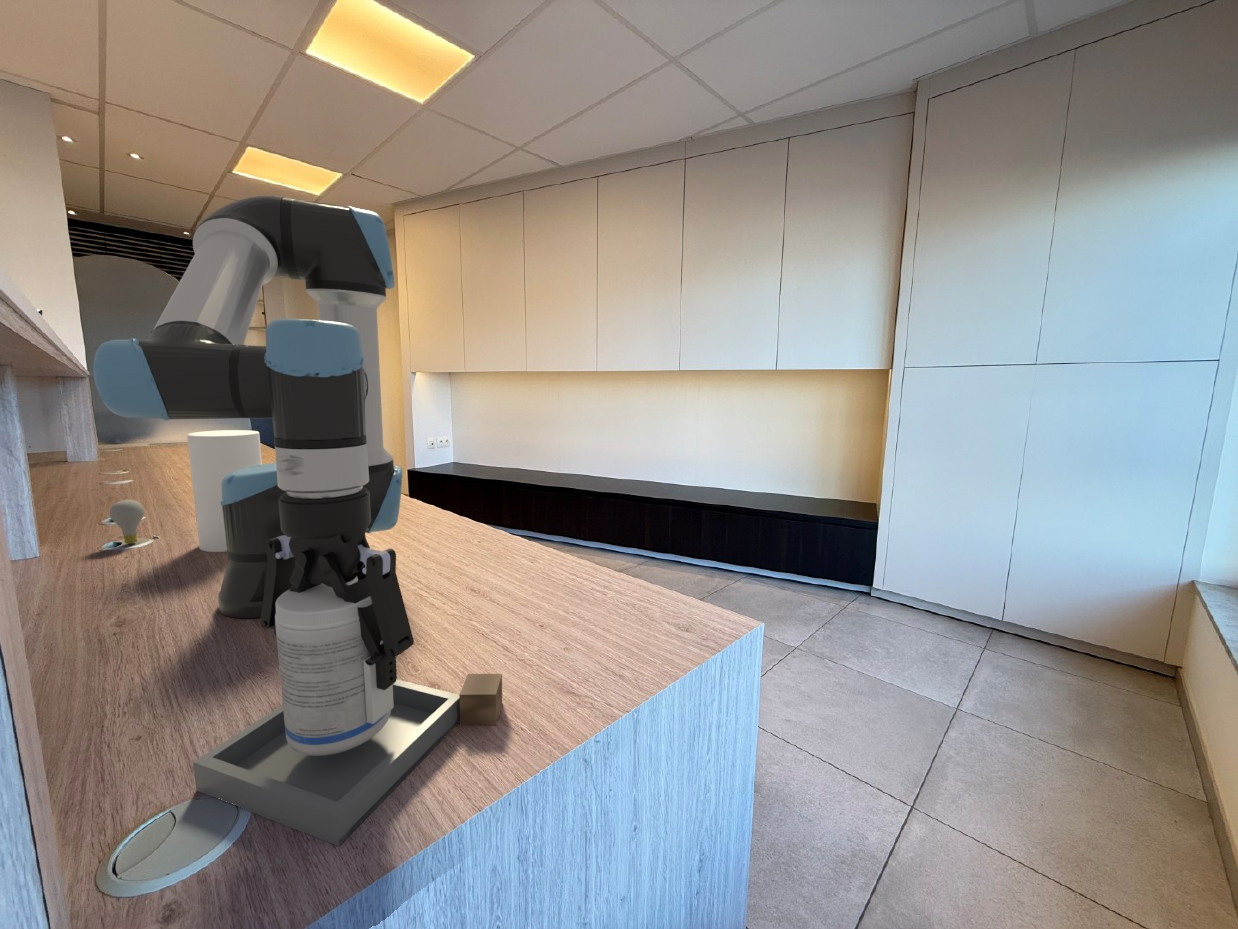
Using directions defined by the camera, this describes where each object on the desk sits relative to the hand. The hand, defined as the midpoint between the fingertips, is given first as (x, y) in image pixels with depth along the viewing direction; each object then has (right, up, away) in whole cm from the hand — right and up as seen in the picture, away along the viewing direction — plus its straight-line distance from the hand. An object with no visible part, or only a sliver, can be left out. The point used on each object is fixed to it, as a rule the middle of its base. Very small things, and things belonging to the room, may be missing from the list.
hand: (339, 703), depth 52 cm
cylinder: (-58, +6, +63) cm, 86 cm away
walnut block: (+13, -5, +7) cm, 15 cm away
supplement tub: (0, -3, 0) cm, 3 cm away
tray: (0, -5, +1) cm, 6 cm away
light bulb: (-79, +7, +60) cm, 100 cm away
